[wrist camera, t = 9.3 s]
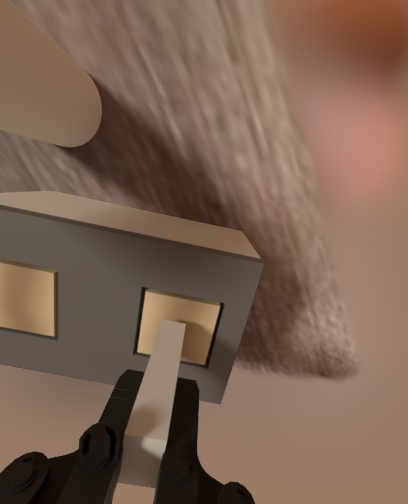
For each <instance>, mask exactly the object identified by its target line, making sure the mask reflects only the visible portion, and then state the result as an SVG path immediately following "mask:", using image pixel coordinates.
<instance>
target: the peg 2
mask: <svg viewBox="0 0 408 504" xmlns="http://www.w3.org/2000/svg"><path fill="white" fill-rule="evenodd" d="M219 309H220V302H216V301H211V300H206V299H201V298H196V297H191V296H186V295H181V294H176V293H171V292H166V291H161V290H156V289H151V288H147V290H146V292H145V300H144V307H143V314H142V321H141V328H140V335H139V343H138V350H137V352H139V353H144V354H149V355H151V353H152V350H153V347H154V344H155V341H156V338H157V335H158V332H159V329H160V326H161V323H162V320H168V321H173V322H179V323H184V324H186V326H185V332H184V339H183V345H182V351H181V357H180V360H181V361H187V362H192V363H197V364H203V365H205V362H206V358H207V354H208V351H209V347H210V343H211V339H212V335H213V332H214V328H215V324H216V320H217V317H218V313H219Z"/></svg>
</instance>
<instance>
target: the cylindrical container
mask: <svg viewBox="0 0 408 504" xmlns="http://www.w3.org/2000/svg"><path fill="white" fill-rule="evenodd" d="M101 117H102V104H101V98H100V95H99V92H98V89H97V87H96V85H95V83H94V81H93V80H92V78H91V77H90V76H89V75H88V73H87V72H86V71H85V70H84V69H83V68H82V67H80V66H79V65H78V64H77V63H76V62H75V61H74V60H73V59H72V58H71V57H70V56H68V55H67V54H66V53H65V52H64V51H63V50H62V49H61V48H60V47H59V46H58V45H56V44H55V43H54V42H53V41H52V40H51V39H50V38H49V37H48V36H47V35H46V34H45V33H43V32H42V31H41V30H40V29H39V28H38V27H37V26H36V25H35V24H34V23H33V22H31V21H30V20H29V19H28V18H27V17H26V16H25V15H24V14H23V13H22V12H21V11H19V10H18V9H17V8H16V7H15V6H14V5H13V4H12V3H11V2H10V1H8V0H0V130H1V131H5V132H8V133H12V134H16V135H20V136H24V137H28V138H32V139H35V140H39V141H43V142H47V143H51V144H55V145H58V146H62V147H78V146H81V145H83V144H85V143H87V142H88V141H90V140H91V139H92V138H93V137H94V135H95V134H96V132H97V130H98V128H99V126H100V123H101Z"/></svg>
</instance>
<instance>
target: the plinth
mask: <svg viewBox="0 0 408 504" xmlns="http://www.w3.org/2000/svg"><path fill="white" fill-rule="evenodd" d="M0 259H5V260H10V261H15V262H20V263H25V264H30V265H35V266H40V267H45V268H50V269H55V270H58V333H57V334H56V335H55V336H48V335H43V334H38V333H32V332H27V331H22V330H16V329H11V328H6V327H0V364H2V365H8V366H13V367H19V368H25V369H30V370H35V371H41V372H46V373H52V374H58V375H63V376H68V377H74V378H79V379H85V380H90V381H96V382H101V383H107V384H112V385H116V383H117V381H118V379H119V377H120V376H121V375H122V374H123V373H124V372H125V371H126V370H127V369H130V370H136V371H142V372H145V371H146V368H147V365H148V362H149V359H150V356H151V355H149V354H144V353H139V352H137V350H138V343H139V335H140V328H141V321H142V314H143V307H144V300H145V292H146V290H147V288H151V289H156V290H161V291H166V292H171V293H176V294H181V295H186V296H191V297H196V298H201V299H206V300H211V301H216V302H220V309H219V313H218V317H217V320H216V324H215V328H214V332H213V335H212V339H211V343H210V347H209V351H208V354H207V358H206V362H205V365H203V364H197V363H192V362H187V361H181V360H180V364H179V370H178V376H177V377H179V378H185V379H191V380H196V382H197V385H198V388H199V400H200V401H206V402H211V403H217V404H221V401H222V398H223V395H224V392H225V388H226V385H227V382H228V379H229V376H230V373H231V369H232V366H233V363H234V360H235V357H236V354H237V350H238V347H239V344H240V341H241V338H242V334H243V331H244V328H245V325H246V322H247V319H248V315H249V312H250V309H251V306H252V303H253V299H254V296H255V293H256V290H257V287H258V284H259V280H260V277H261V274H262V271H263V268H264V262H263V261H262V260H261V258H260V257H259V255H258V254H257V252H256V251H255V249H254V248H253V246H252V245H251V244H250V242H249V241H248V239H247V238H246V236H245V235H244V233H243V232H242V231H240V230H235V229H230V228H226V227H221V226H216V225H211V224H207V223H202V222H197V221H193V220H188V219H183V218H178V217H174V216H169V215H164V214H160V213H155V212H150V211H145V210H141V209H136V208H131V207H126V206H122V205H117V204H112V203H108V202H103V201H98V200H93V199H89V198H84V197H79V196H75V195H70V194H65V193H60V192H56V191H38V192H11V193H0Z"/></svg>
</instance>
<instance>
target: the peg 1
mask: <svg viewBox="0 0 408 504" xmlns="http://www.w3.org/2000/svg"><path fill="white" fill-rule="evenodd" d="M0 327H6V328H11V329H16V330H22V331H27V332H32V333H38V334H43V335H48V336H55V335H56V334H57V333H58V270H55V269H50V268H45V267H40V266H35V265H30V264H25V263H20V262H15V261H10V260H5V259H0Z"/></svg>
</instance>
